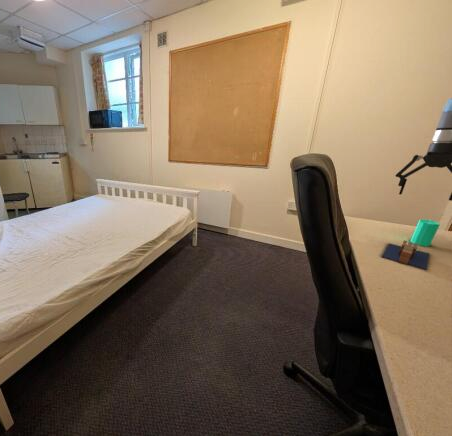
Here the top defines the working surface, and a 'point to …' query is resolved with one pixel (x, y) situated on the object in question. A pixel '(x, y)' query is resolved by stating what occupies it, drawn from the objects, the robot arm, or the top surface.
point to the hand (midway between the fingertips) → (423, 196)
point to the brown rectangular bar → (407, 251)
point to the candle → (425, 232)
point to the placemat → (417, 261)
